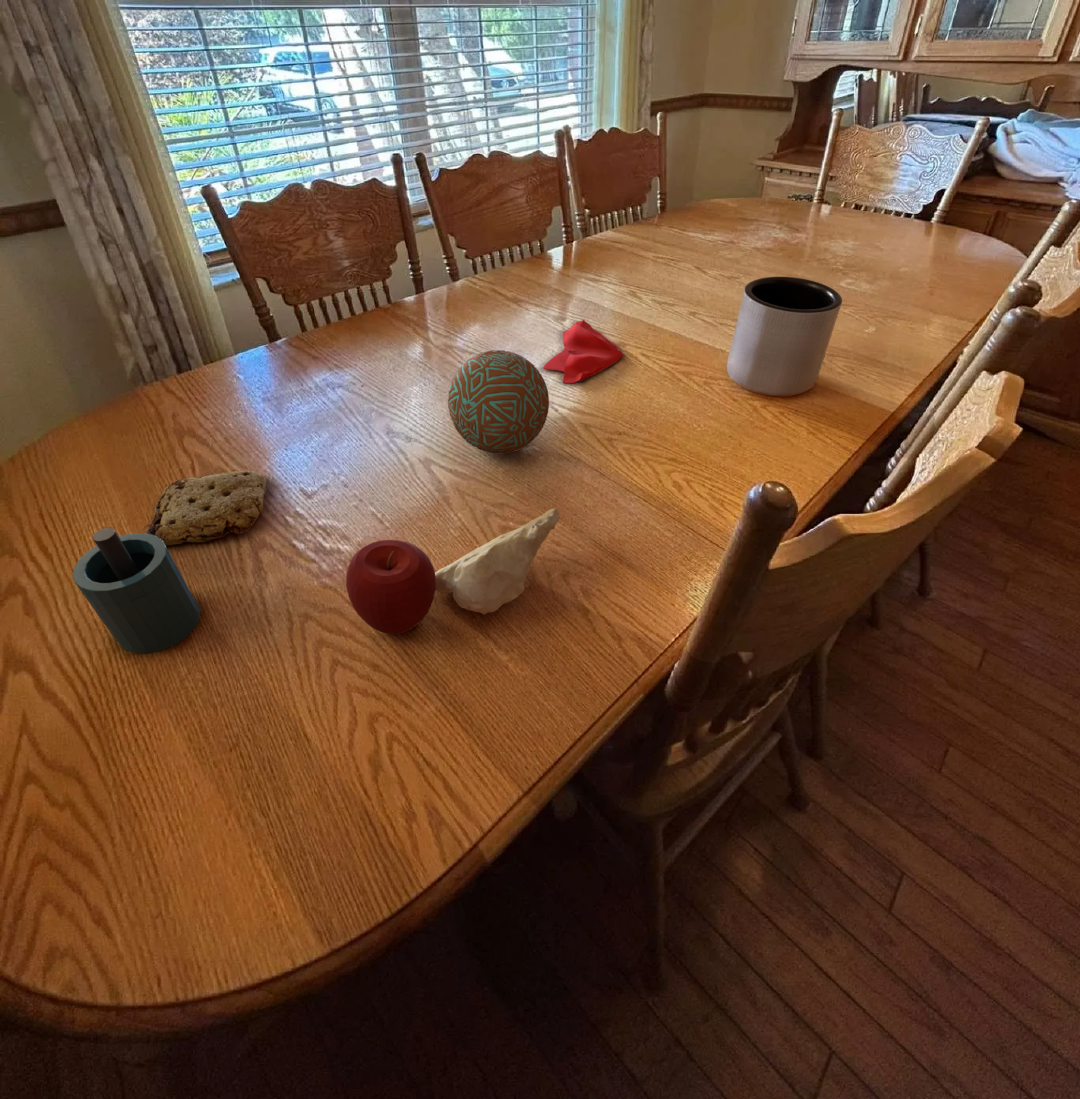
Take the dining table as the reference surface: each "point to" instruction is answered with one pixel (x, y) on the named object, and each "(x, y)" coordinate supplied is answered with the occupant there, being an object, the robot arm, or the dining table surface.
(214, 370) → the dining table surface
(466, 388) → the decorative sphere
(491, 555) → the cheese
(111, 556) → the t-shaped mushroom stamp
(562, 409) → the dining table surface
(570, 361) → the cloth
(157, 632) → the crock
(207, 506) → the pastry
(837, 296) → the planter
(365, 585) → the apple
